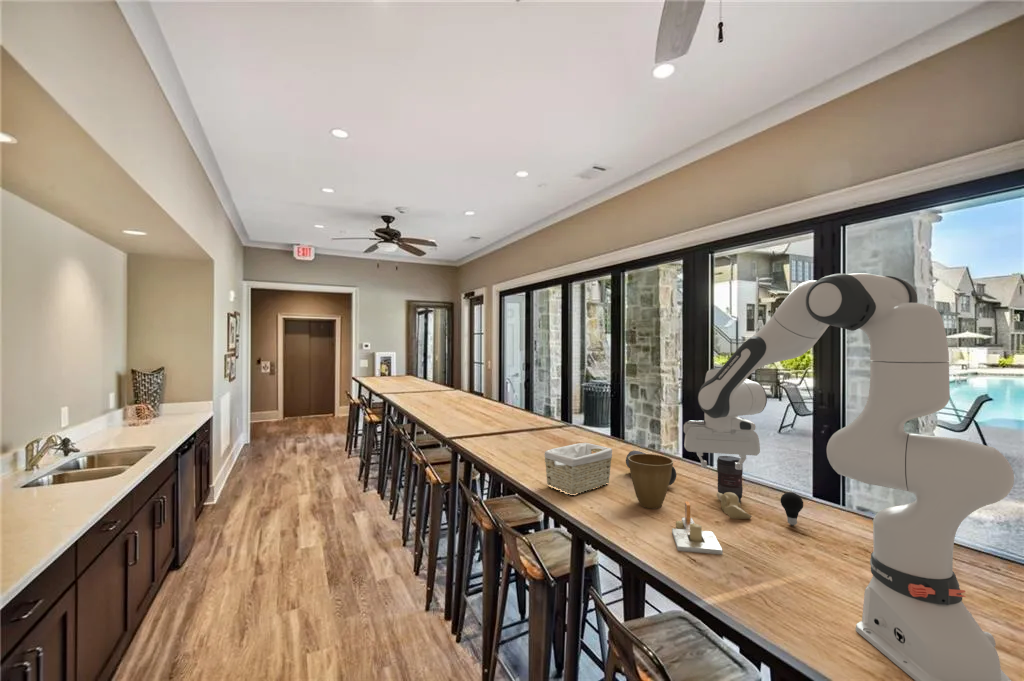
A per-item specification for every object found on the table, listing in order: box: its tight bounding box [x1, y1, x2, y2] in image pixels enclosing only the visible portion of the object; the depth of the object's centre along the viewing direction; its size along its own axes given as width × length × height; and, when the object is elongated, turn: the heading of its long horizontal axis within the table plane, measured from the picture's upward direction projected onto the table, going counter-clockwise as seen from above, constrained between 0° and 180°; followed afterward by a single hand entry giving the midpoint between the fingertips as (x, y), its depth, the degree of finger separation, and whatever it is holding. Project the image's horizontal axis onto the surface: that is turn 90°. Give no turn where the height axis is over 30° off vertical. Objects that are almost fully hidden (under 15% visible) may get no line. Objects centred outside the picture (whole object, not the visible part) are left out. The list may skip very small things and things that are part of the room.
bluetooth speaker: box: [625, 450, 677, 486], centre depth 175 cm, size 23×9×10 cm, turn 17°
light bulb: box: [780, 491, 804, 526], centre depth 131 cm, size 6×6×10 cm
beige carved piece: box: [716, 491, 753, 520], centre depth 138 cm, size 8×7×12 cm
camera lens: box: [716, 455, 744, 504], centre depth 152 cm, size 8×8×15 cm
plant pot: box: [628, 453, 674, 509], centre depth 149 cm, size 15×15×16 cm
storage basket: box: [544, 442, 613, 494], centre depth 169 cm, size 24×16×15 cm
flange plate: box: [671, 501, 724, 556], centre depth 122 cm, size 20×11×6 cm, turn 167°
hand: (721, 468), depth 127 cm, fingers open, 8 cm apart
